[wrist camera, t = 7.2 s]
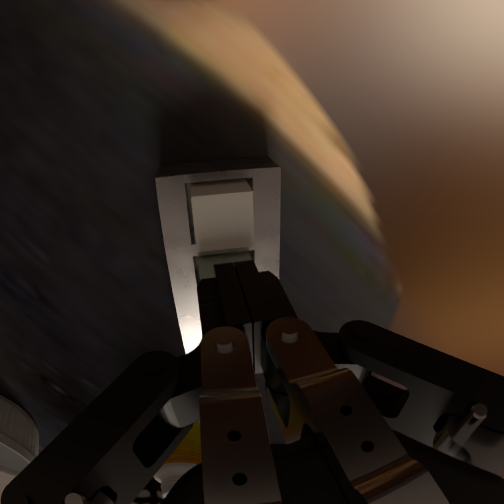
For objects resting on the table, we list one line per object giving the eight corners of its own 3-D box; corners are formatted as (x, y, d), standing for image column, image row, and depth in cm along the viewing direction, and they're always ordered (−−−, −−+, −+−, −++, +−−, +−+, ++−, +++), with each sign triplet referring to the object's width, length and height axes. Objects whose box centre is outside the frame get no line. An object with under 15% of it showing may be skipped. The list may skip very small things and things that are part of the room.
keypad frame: (185, 334, 26) (187, 359, 24) (159, 165, 19) (155, 177, 17) (268, 323, 27) (276, 347, 25) (268, 156, 20) (280, 167, 18)
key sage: (203, 298, 22) (207, 338, 18) (198, 257, 20) (201, 294, 17) (250, 292, 22) (262, 331, 19) (248, 251, 21) (262, 287, 17)
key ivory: (194, 223, 21) (196, 252, 18) (190, 176, 20) (190, 197, 16) (242, 218, 22) (254, 246, 18) (241, 172, 20) (252, 191, 17)
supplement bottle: (148, 399, 30) (148, 487, 21) (201, 399, 31) (212, 486, 22) (155, 426, 32) (158, 504, 23) (202, 425, 33) (213, 503, 25)
